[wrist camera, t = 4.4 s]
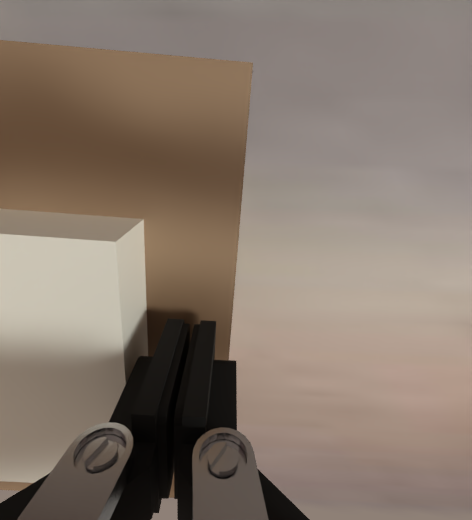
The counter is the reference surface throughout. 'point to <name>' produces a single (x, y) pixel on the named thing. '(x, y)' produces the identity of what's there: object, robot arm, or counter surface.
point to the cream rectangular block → (65, 330)
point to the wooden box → (135, 163)
